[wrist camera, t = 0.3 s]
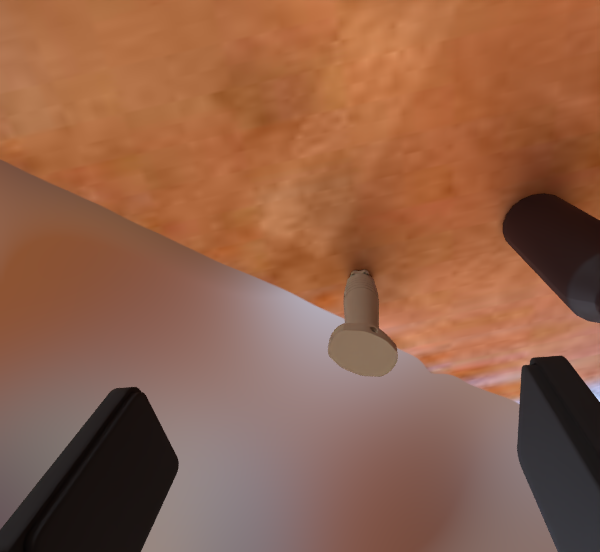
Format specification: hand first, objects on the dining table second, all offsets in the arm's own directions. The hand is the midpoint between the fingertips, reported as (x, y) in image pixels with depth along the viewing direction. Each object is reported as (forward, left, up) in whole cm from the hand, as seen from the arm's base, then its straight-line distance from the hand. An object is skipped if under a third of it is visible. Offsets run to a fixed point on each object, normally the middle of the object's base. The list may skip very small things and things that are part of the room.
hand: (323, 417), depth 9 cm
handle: (+15, -1, -36) cm, 39 cm away
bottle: (+11, +19, -36) cm, 43 cm away
